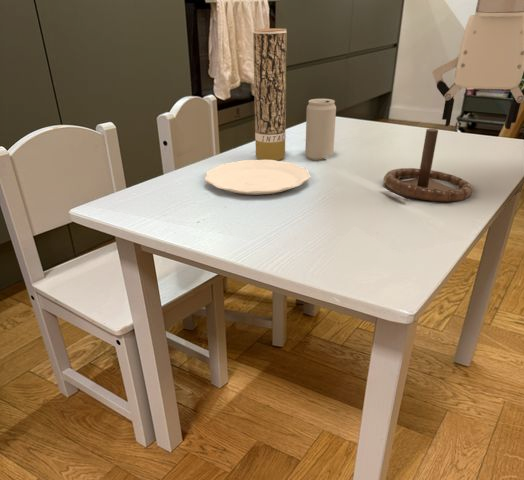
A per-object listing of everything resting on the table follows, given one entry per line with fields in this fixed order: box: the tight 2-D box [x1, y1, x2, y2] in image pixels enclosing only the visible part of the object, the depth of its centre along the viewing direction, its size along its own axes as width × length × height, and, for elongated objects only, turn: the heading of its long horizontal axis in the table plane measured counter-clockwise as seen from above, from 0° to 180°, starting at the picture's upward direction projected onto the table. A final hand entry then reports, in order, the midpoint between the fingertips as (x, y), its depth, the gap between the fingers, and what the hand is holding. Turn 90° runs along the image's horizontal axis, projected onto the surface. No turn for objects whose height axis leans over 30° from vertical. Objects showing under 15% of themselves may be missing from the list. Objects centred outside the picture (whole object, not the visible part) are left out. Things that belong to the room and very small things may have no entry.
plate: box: [204, 159, 311, 196], centre depth 100 cm, size 21×21×2 cm
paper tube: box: [252, 28, 288, 161], centre depth 108 cm, size 7×7×25 cm
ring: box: [383, 167, 473, 203], centre depth 93 cm, size 16×16×2 cm
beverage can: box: [304, 98, 337, 162], centre depth 111 cm, size 6×6×12 cm
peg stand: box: [387, 128, 457, 200], centre depth 91 cm, size 9×9×11 cm
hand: (476, 125), depth 85 cm, fingers open, 9 cm apart
